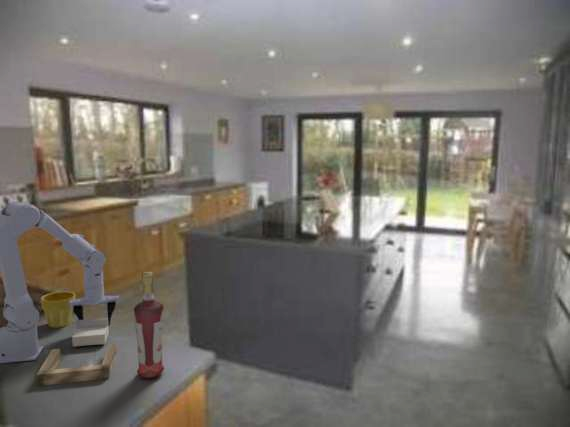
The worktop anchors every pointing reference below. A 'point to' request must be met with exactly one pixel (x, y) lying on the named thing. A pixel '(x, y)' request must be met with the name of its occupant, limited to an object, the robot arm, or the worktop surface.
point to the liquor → (149, 331)
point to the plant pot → (58, 308)
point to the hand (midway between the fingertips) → (96, 325)
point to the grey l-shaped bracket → (91, 332)
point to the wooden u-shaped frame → (74, 369)
